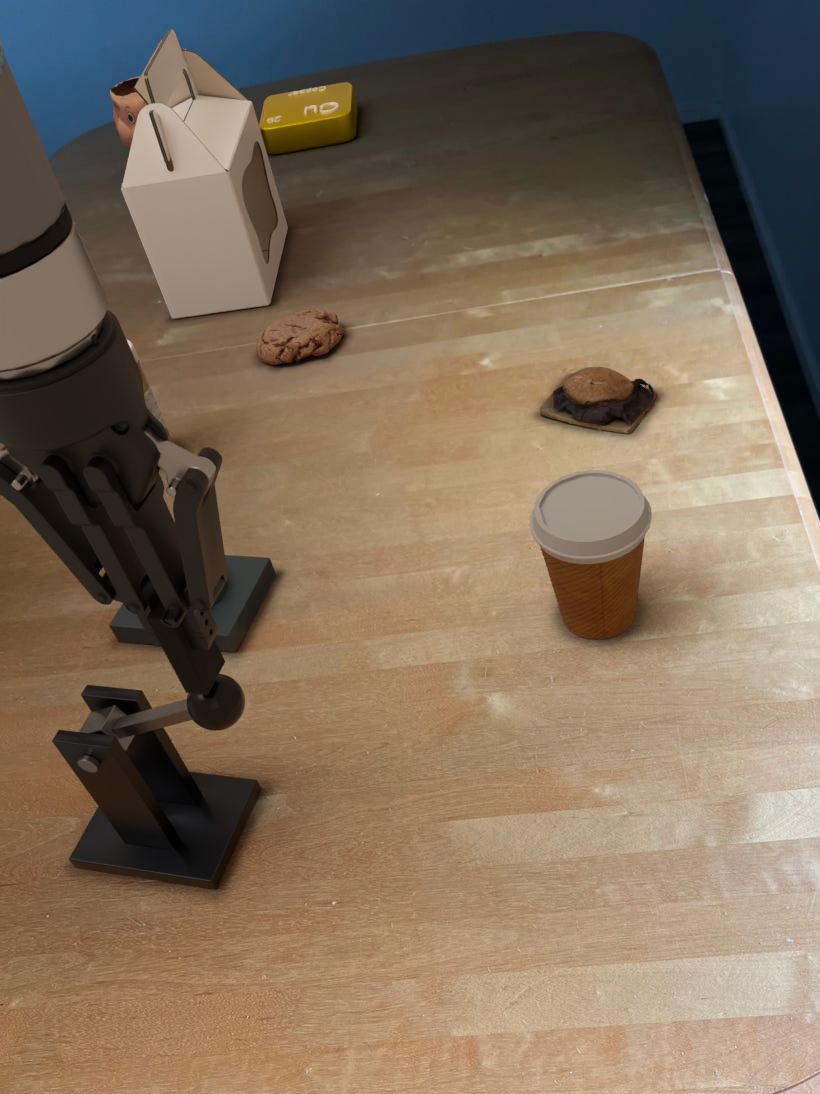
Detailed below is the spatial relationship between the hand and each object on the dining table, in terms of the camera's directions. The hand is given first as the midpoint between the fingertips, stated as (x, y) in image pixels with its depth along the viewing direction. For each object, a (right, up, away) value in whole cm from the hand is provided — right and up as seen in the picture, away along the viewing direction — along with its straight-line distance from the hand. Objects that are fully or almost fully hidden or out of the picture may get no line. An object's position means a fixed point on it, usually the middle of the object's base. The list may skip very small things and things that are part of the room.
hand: (205, 676), depth 65 cm
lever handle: (-3, -4, +6) cm, 8 cm away
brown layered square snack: (+29, +27, +46) cm, 61 cm away
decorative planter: (-33, +78, +107) cm, 137 cm away
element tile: (-11, +86, +110) cm, 140 cm away
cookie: (-5, +38, +63) cm, 74 cm away
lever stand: (-7, -12, +16) cm, 22 cm away
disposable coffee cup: (+27, +4, +26) cm, 37 cm away
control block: (-9, +5, +33) cm, 35 cm away
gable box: (-17, +52, +79) cm, 96 cm away
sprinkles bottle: (-19, +22, +52) cm, 59 cm away
